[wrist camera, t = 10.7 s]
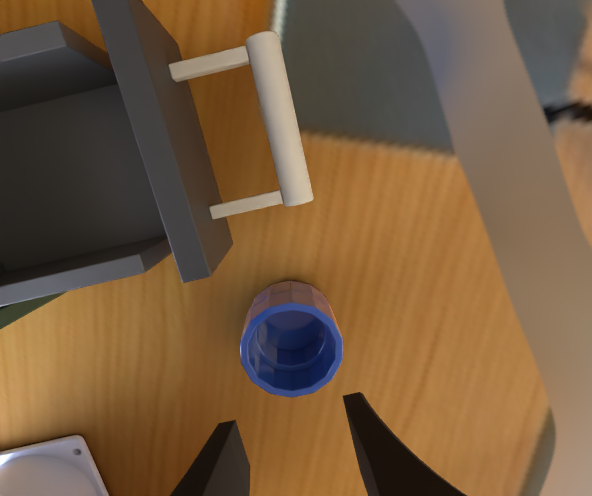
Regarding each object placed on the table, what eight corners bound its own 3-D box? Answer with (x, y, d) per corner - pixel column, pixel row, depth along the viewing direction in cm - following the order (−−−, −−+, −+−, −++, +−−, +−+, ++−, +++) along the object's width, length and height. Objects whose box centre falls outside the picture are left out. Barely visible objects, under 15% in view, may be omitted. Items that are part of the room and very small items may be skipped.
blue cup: (340, 345, 22) (352, 384, 18) (259, 364, 22) (253, 406, 18) (323, 269, 20) (332, 292, 17) (237, 289, 21) (227, 317, 17)
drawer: (270, 20, 17) (263, -62, 11) (315, 225, 19) (330, 249, 13) (-66, 102, 17) (-251, 66, 11) (19, 294, 19) (-97, 348, 13)
